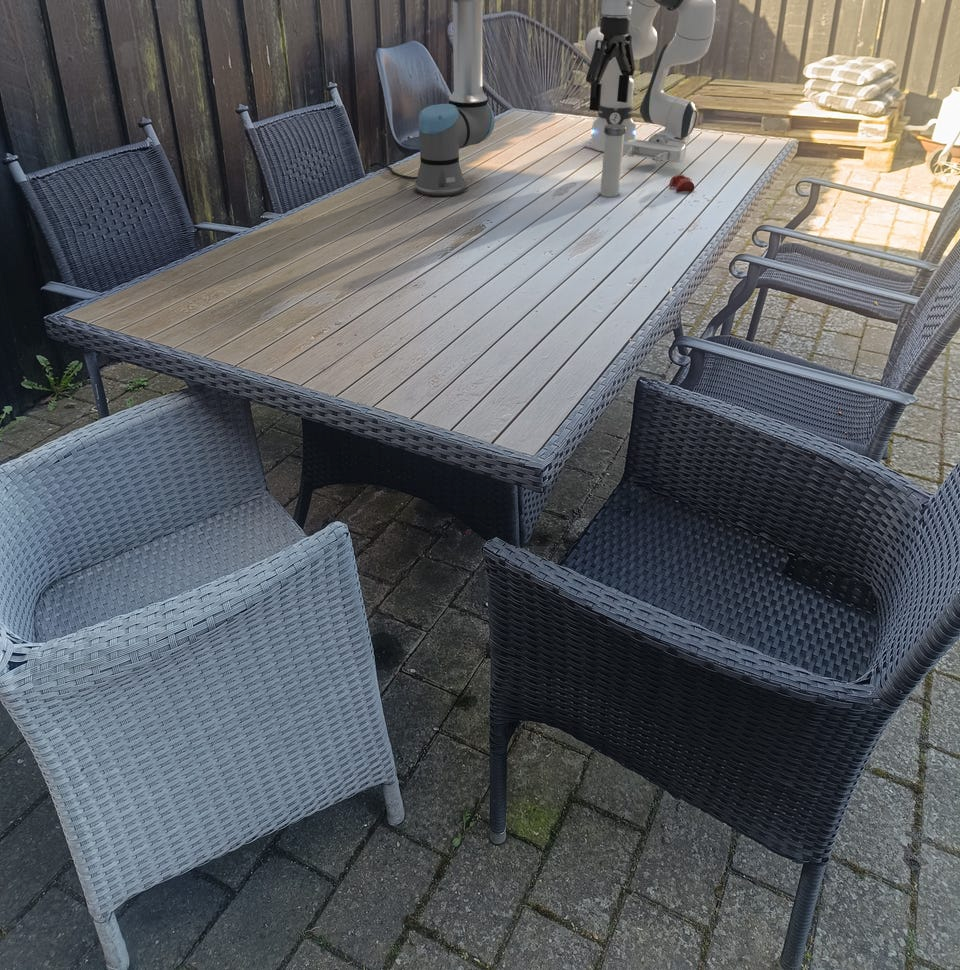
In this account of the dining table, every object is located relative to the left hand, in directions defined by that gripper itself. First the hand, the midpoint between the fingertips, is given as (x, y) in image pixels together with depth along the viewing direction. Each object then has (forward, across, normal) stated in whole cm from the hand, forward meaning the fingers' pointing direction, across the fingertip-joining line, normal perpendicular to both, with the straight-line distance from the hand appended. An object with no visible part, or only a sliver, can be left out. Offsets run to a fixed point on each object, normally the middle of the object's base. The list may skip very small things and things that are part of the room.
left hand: (608, 106), depth 226 cm
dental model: (+28, +33, -8) cm, 44 cm away
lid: (+9, +15, +6) cm, 18 cm away
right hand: (+22, +38, +9) cm, 44 cm away
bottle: (+28, +15, +6) cm, 32 cm away
